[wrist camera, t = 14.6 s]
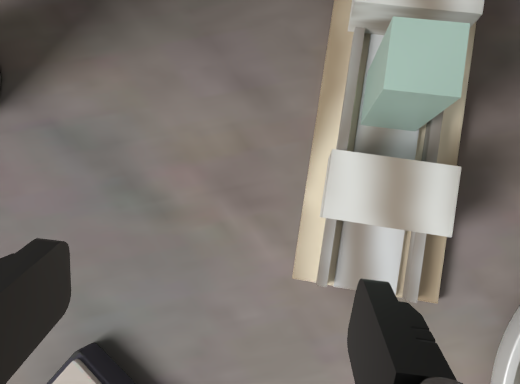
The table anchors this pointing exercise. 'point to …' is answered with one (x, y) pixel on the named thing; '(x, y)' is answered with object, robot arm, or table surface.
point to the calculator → (90, 369)
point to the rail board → (329, 142)
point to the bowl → (508, 354)
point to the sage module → (415, 73)
